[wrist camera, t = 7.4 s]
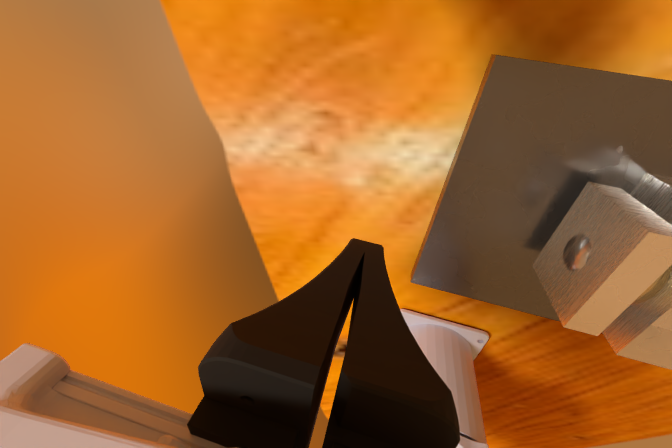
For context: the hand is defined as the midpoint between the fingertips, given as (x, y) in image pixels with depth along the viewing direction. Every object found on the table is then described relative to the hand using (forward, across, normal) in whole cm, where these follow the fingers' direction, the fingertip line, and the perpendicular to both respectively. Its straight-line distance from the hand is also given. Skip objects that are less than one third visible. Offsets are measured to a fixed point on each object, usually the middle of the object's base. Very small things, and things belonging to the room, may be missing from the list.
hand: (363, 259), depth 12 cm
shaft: (+7, -17, 0) cm, 19 cm away
